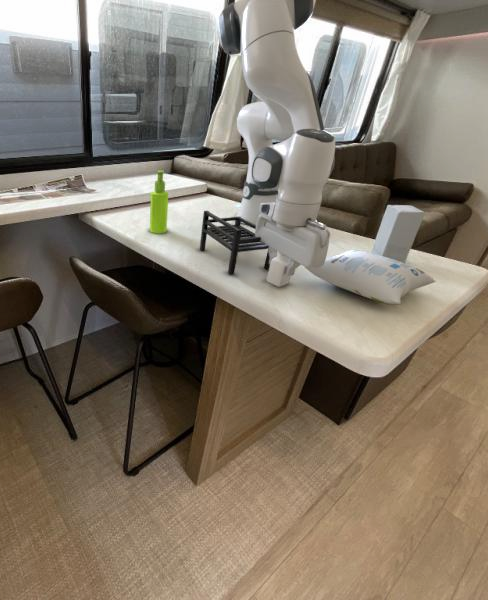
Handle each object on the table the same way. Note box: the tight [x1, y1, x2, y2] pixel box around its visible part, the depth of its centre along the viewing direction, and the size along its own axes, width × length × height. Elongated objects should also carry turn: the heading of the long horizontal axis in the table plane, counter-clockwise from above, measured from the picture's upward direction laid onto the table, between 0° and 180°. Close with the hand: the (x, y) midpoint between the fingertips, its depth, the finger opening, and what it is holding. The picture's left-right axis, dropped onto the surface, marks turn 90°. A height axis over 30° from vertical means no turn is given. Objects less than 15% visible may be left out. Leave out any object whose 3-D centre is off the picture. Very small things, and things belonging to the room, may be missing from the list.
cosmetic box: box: [370, 204, 426, 264], centre depth 87 cm, size 8×6×15 cm
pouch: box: [304, 249, 437, 305], centre depth 75 cm, size 8×19×20 cm
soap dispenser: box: [149, 169, 169, 234], centre depth 110 cm, size 6×7×20 cm
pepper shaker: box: [266, 251, 291, 288], centre depth 78 cm, size 4×4×10 cm
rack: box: [199, 210, 270, 276], centre depth 90 cm, size 12×18×12 cm, turn 15°
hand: (280, 269), depth 78 cm, fingers closed on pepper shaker, 4 cm apart
